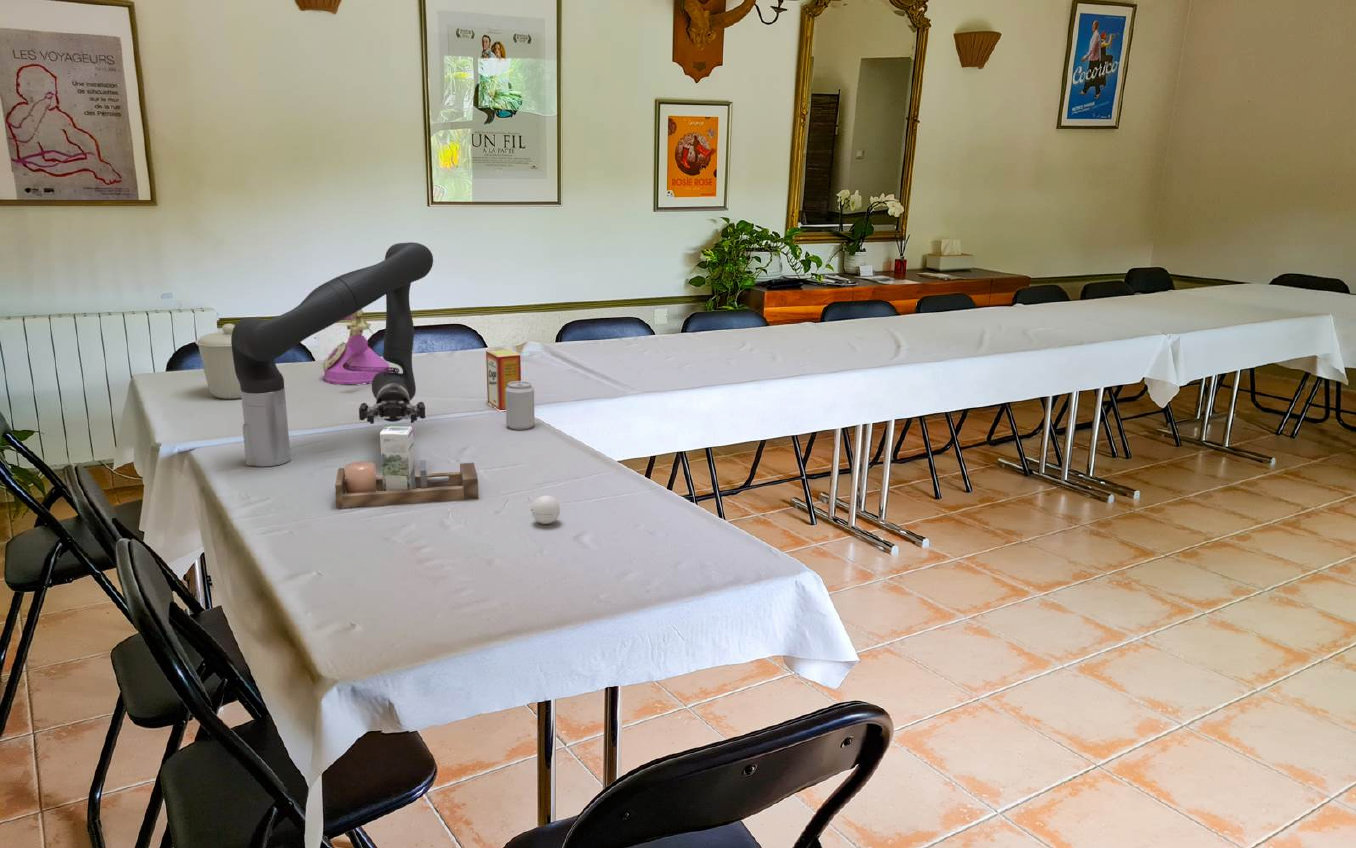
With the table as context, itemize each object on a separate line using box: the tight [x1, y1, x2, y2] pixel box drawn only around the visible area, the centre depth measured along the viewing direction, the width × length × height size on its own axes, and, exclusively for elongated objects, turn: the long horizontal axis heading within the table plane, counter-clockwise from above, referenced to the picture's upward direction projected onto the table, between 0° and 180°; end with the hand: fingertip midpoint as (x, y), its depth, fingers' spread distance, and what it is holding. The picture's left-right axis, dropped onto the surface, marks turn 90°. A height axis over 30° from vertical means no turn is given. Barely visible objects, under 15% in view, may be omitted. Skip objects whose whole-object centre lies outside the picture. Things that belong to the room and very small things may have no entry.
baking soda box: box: [485, 348, 522, 410], centre depth 276 cm, size 10×6×16 cm
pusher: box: [419, 459, 449, 489], centre depth 206 cm, size 6×7×6 cm
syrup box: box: [379, 426, 417, 491], centre depth 203 cm, size 6×6×14 cm
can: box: [505, 380, 536, 431], centre depth 256 cm, size 8×8×12 cm
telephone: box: [322, 308, 400, 385], centre depth 301 cm, size 36×22×25 cm, turn 25°
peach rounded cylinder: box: [344, 461, 378, 494], centre depth 202 cm, size 6×6×7 cm
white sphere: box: [530, 495, 561, 525], centre depth 190 cm, size 8×6×6 cm
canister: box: [194, 323, 242, 400], centre depth 281 cm, size 18×18×21 cm
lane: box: [334, 462, 479, 509], centre depth 205 cm, size 28×11×5 cm, turn 106°
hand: (392, 418), depth 212 cm, fingers open, 8 cm apart
